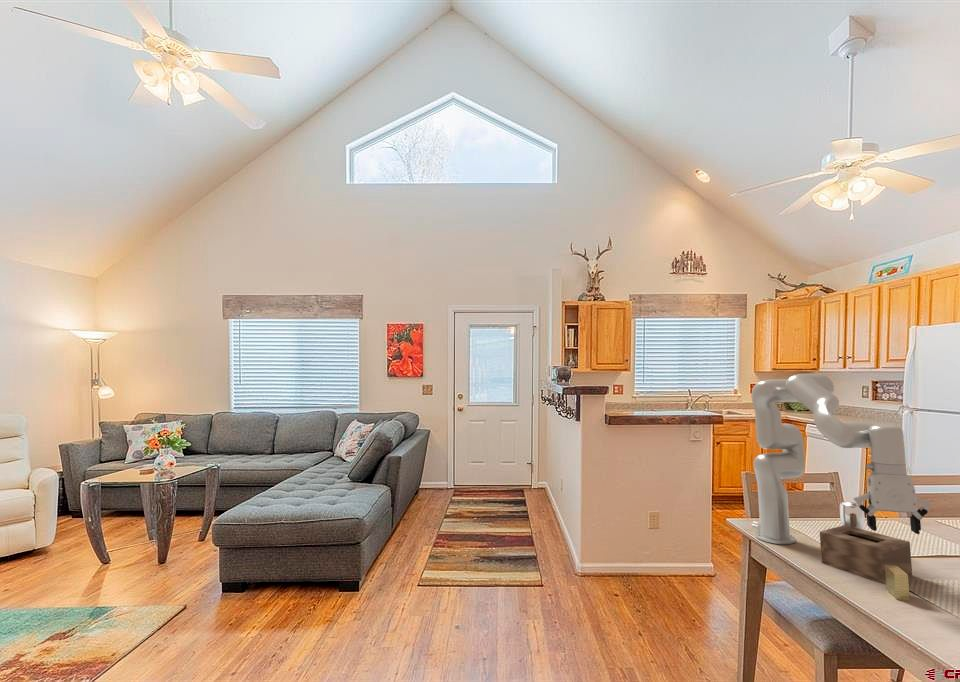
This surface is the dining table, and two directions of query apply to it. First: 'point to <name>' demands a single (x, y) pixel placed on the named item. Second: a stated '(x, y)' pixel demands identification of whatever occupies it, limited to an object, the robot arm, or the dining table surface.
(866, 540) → the coin box
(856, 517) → the beer glass
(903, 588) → the block
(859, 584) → the dining table surface
